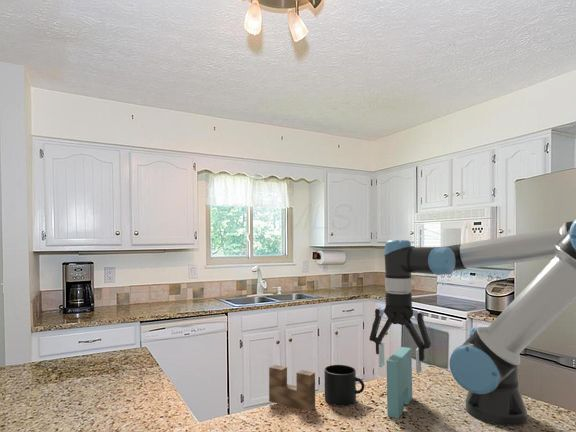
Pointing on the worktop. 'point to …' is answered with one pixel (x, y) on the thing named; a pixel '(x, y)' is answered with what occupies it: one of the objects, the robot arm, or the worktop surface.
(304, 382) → the walnut u-shaped block
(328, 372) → the mug
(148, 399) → the worktop surface
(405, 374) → the teal flat block
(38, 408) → the worktop surface
